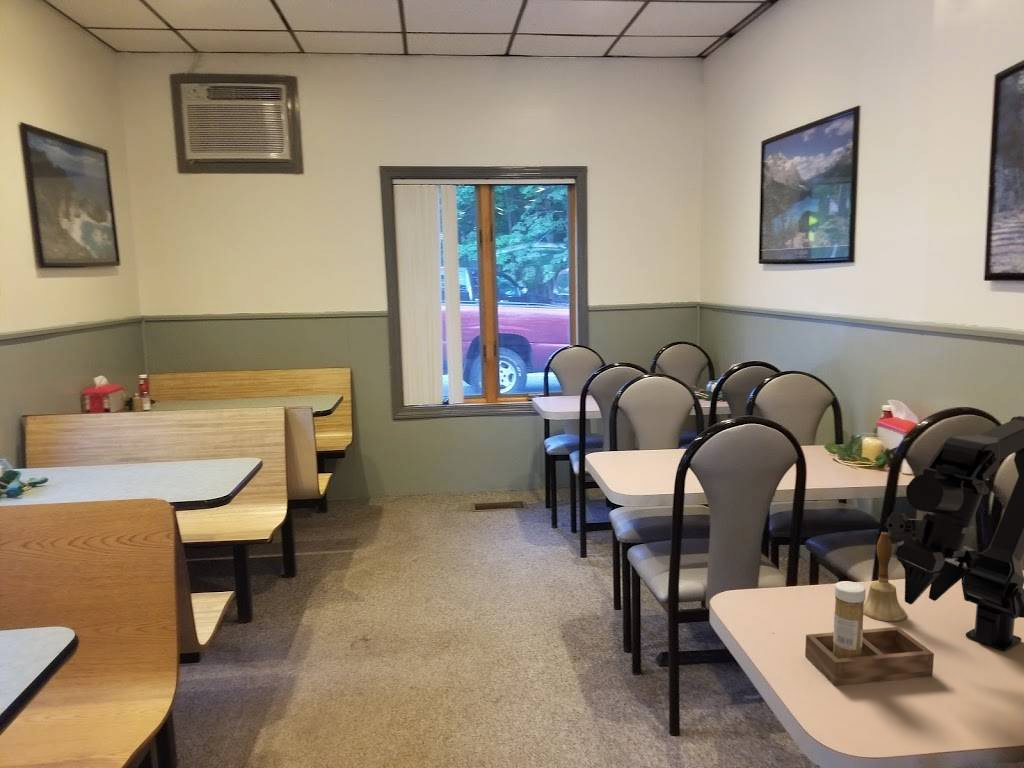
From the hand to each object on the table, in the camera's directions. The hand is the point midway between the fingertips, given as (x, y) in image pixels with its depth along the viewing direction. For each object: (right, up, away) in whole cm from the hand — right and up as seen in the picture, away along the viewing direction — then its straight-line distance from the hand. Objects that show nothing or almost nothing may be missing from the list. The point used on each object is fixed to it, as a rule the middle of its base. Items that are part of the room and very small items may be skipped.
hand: (920, 601), depth 119 cm
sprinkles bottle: (-12, -10, 0) cm, 16 cm away
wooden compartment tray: (-8, -11, +1) cm, 14 cm away
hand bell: (+4, -8, +20) cm, 22 cm away
